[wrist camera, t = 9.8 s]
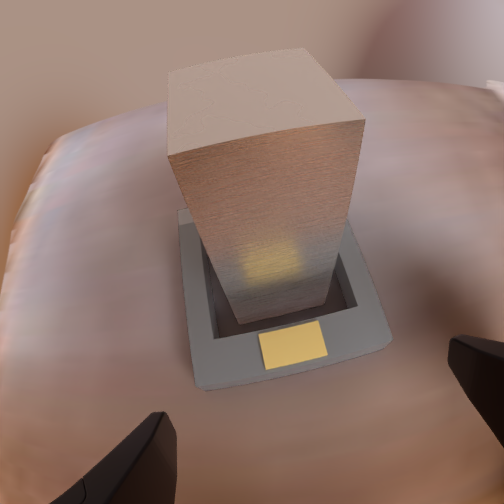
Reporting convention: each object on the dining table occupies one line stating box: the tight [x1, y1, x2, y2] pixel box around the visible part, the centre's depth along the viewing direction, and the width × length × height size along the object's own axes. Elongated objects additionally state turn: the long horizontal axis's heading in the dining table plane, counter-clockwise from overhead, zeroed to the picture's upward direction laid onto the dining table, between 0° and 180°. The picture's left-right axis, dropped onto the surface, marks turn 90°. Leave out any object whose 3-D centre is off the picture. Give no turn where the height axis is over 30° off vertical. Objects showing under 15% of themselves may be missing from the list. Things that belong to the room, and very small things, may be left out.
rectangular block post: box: [167, 48, 366, 325], centre depth 14 cm, size 5×5×12 cm
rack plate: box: [177, 208, 393, 391], centre depth 18 cm, size 11×10×2 cm
